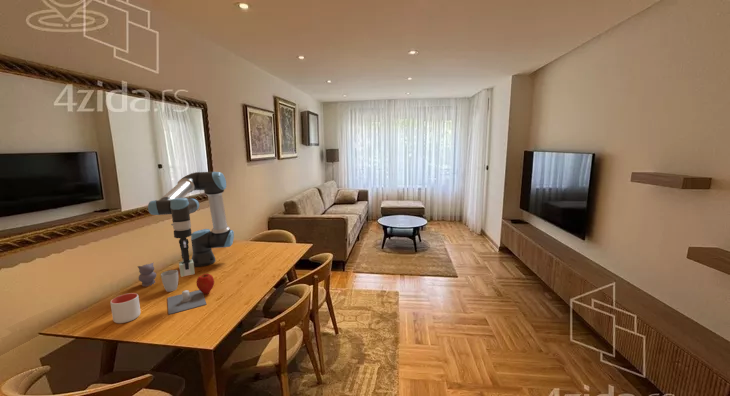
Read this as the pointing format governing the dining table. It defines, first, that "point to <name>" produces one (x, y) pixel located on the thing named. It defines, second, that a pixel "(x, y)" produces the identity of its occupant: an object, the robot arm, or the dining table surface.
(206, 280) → the apple
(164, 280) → the cup
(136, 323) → the dining table surface
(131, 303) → the cup
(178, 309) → the grey piece
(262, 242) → the dining table surface
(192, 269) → the pale green block
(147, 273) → the cat figurine
